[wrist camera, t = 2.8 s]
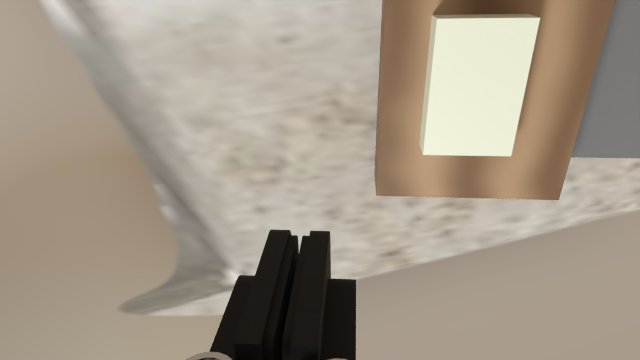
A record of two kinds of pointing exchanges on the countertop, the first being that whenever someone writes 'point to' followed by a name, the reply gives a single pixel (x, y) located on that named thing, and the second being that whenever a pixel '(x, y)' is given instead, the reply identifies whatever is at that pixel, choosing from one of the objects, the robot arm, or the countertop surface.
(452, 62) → the cream rectangular block
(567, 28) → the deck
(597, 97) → the mat
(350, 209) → the countertop surface
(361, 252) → the countertop surface
